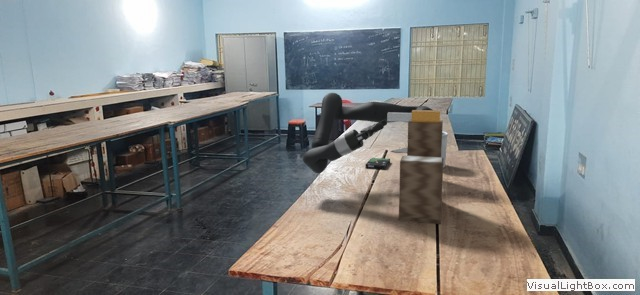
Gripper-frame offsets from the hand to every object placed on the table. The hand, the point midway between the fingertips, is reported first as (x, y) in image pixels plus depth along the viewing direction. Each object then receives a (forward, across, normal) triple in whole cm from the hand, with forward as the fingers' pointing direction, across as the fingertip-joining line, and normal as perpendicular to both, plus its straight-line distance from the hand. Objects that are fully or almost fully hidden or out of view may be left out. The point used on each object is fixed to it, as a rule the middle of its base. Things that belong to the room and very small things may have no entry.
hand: (384, 123), depth 159 cm
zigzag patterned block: (-3, -8, +34) cm, 35 cm away
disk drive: (-25, +53, +22) cm, 63 cm away
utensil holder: (-2, +58, +35) cm, 68 cm away
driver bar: (+9, 0, +4) cm, 10 cm away
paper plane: (-14, +92, +28) cm, 97 cm away
